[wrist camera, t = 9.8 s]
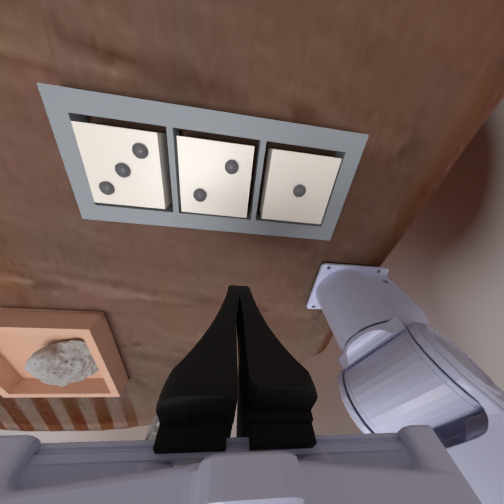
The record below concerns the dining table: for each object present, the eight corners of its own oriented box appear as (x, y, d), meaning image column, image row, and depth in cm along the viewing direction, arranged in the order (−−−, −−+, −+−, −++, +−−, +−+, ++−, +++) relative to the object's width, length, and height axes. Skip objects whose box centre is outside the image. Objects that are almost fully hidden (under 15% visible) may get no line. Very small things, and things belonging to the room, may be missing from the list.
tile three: (167, 133, 17) (156, 132, 14) (173, 201, 20) (164, 209, 17) (93, 123, 16) (68, 120, 14) (110, 195, 19) (93, 202, 17)
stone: (71, 394, 32) (-7, 386, 26) (85, 364, 36) (19, 350, 29) (114, 379, 30) (41, 366, 24) (124, 349, 34) (62, 329, 27)
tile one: (329, 156, 18) (342, 158, 16) (312, 215, 21) (321, 225, 19) (268, 147, 18) (272, 149, 15) (259, 210, 21) (261, 219, 18)
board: (356, 135, 18) (369, 134, 16) (323, 232, 23) (330, 240, 21) (59, 88, 15) (36, 82, 13) (96, 211, 20) (82, 218, 18)
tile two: (252, 145, 17) (254, 146, 15) (245, 209, 20) (246, 218, 18) (184, 136, 17) (175, 135, 14) (187, 203, 20) (180, 212, 17)
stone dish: (103, 311, 27) (88, 329, 25) (128, 378, 36) (120, 396, 34) (-45, 305, 25) (-77, 324, 23) (21, 377, 34) (3, 397, 32)
